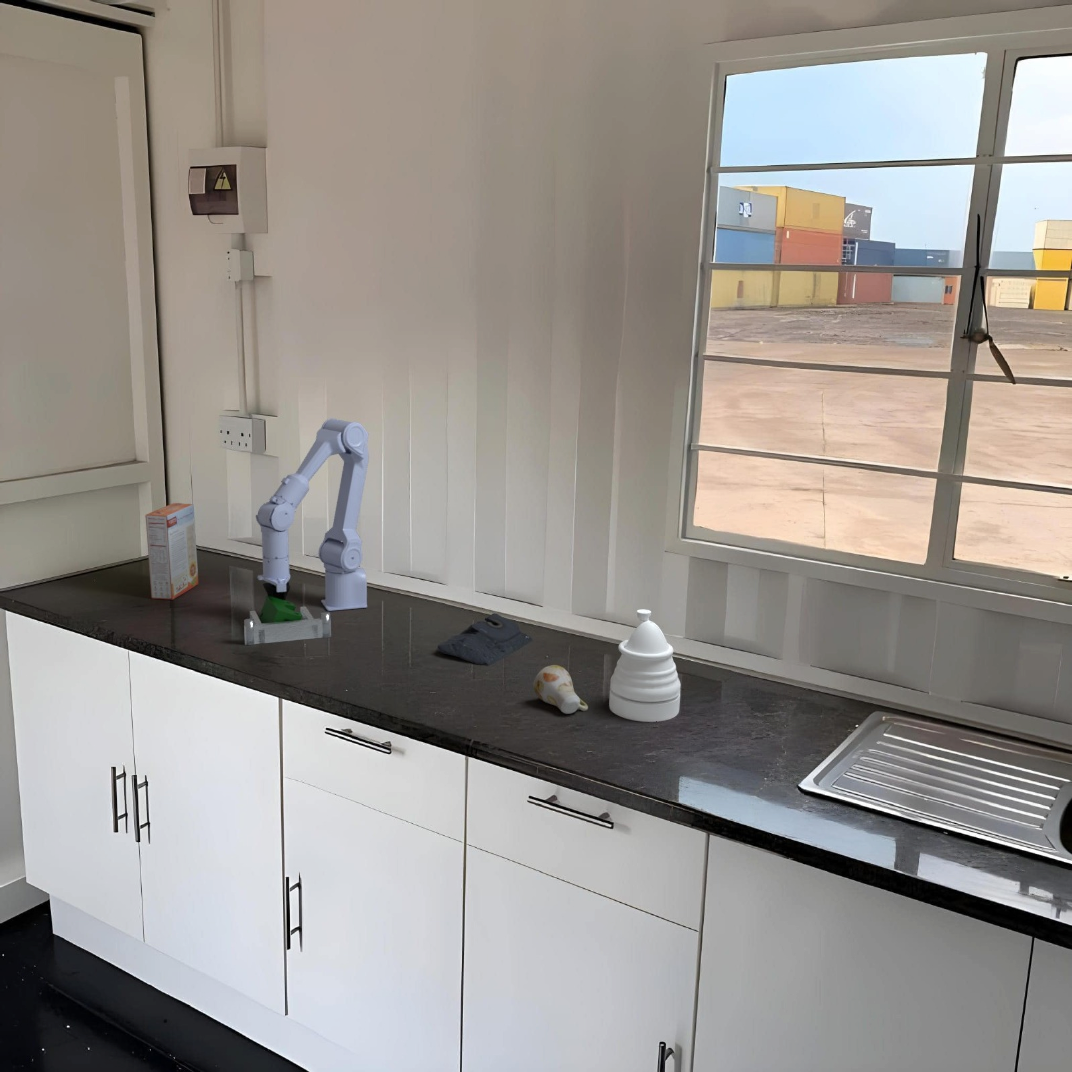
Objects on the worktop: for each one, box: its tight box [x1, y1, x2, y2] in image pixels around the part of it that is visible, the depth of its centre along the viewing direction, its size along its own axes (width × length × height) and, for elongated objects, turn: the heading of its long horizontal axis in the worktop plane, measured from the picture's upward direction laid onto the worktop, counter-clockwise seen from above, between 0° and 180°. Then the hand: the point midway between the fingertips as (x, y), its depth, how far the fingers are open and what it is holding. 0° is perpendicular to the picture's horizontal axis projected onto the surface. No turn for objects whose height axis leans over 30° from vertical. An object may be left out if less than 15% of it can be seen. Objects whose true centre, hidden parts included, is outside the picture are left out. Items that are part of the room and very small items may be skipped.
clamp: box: [258, 595, 303, 624], centre depth 227 cm, size 12×6×9 cm
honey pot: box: [608, 608, 682, 723], centre depth 189 cm, size 13×13×18 cm
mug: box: [532, 664, 589, 715], centre depth 190 cm, size 8×10×10 cm
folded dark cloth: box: [437, 612, 533, 666], centre depth 221 cm, size 15×22×5 cm
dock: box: [243, 606, 332, 646], centre depth 226 cm, size 18×14×5 cm
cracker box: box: [144, 502, 199, 601], centre depth 251 cm, size 14×6×21 cm, turn 172°
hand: (277, 614), depth 234 cm, fingers closed
